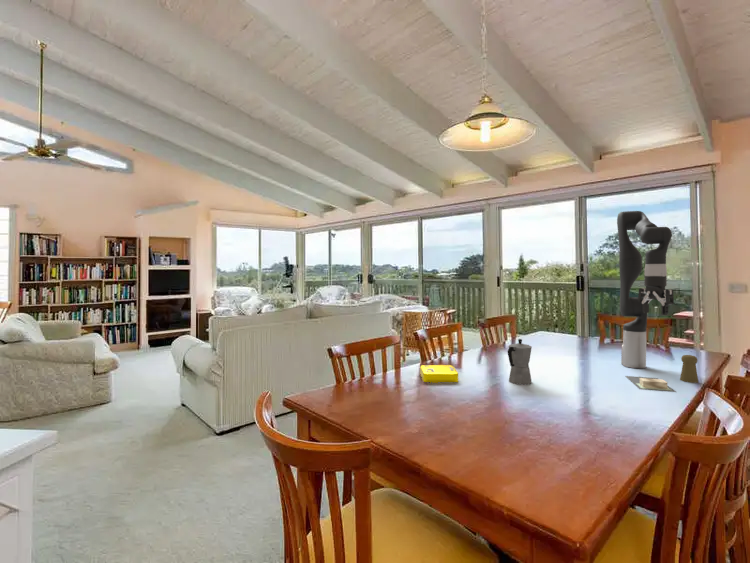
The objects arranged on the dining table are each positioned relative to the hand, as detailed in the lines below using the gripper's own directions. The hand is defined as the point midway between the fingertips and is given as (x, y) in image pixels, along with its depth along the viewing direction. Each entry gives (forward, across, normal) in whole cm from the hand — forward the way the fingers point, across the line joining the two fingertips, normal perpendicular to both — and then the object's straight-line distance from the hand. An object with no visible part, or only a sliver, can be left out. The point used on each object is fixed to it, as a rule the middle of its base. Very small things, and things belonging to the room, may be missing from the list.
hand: (655, 313), depth 163 cm
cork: (+28, +5, +12) cm, 31 cm away
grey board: (+28, +4, -7) cm, 29 cm away
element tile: (+29, -25, -86) cm, 94 cm away
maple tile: (+28, +8, -10) cm, 30 cm away
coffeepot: (+28, -11, -56) cm, 64 cm away
